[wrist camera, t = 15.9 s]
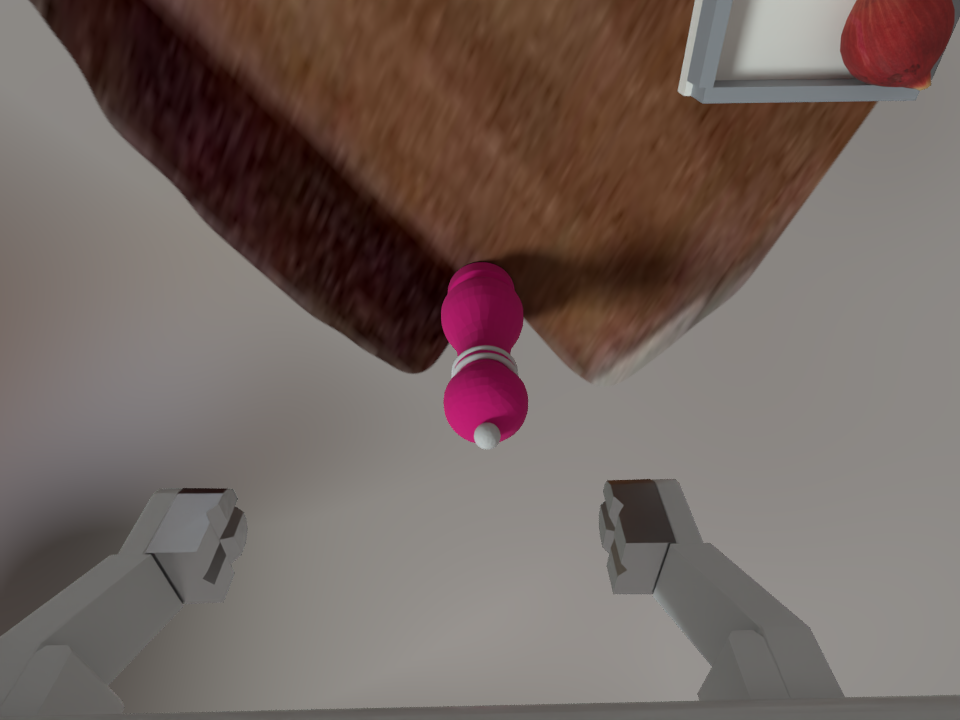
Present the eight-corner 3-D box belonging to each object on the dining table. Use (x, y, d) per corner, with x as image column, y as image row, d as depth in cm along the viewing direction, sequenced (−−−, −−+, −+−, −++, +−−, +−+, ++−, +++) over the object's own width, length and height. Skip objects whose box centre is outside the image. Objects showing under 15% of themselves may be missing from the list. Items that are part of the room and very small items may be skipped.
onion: (806, 21, 38) (857, 120, 40) (841, 5, 33) (898, 120, 35) (894, -44, 36) (944, 64, 38) (946, -72, 31) (1002, 54, 33)
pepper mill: (426, 288, 51) (408, 442, 35) (485, 240, 48) (494, 384, 32) (477, 335, 54) (482, 496, 38) (535, 293, 52) (565, 448, 36)
